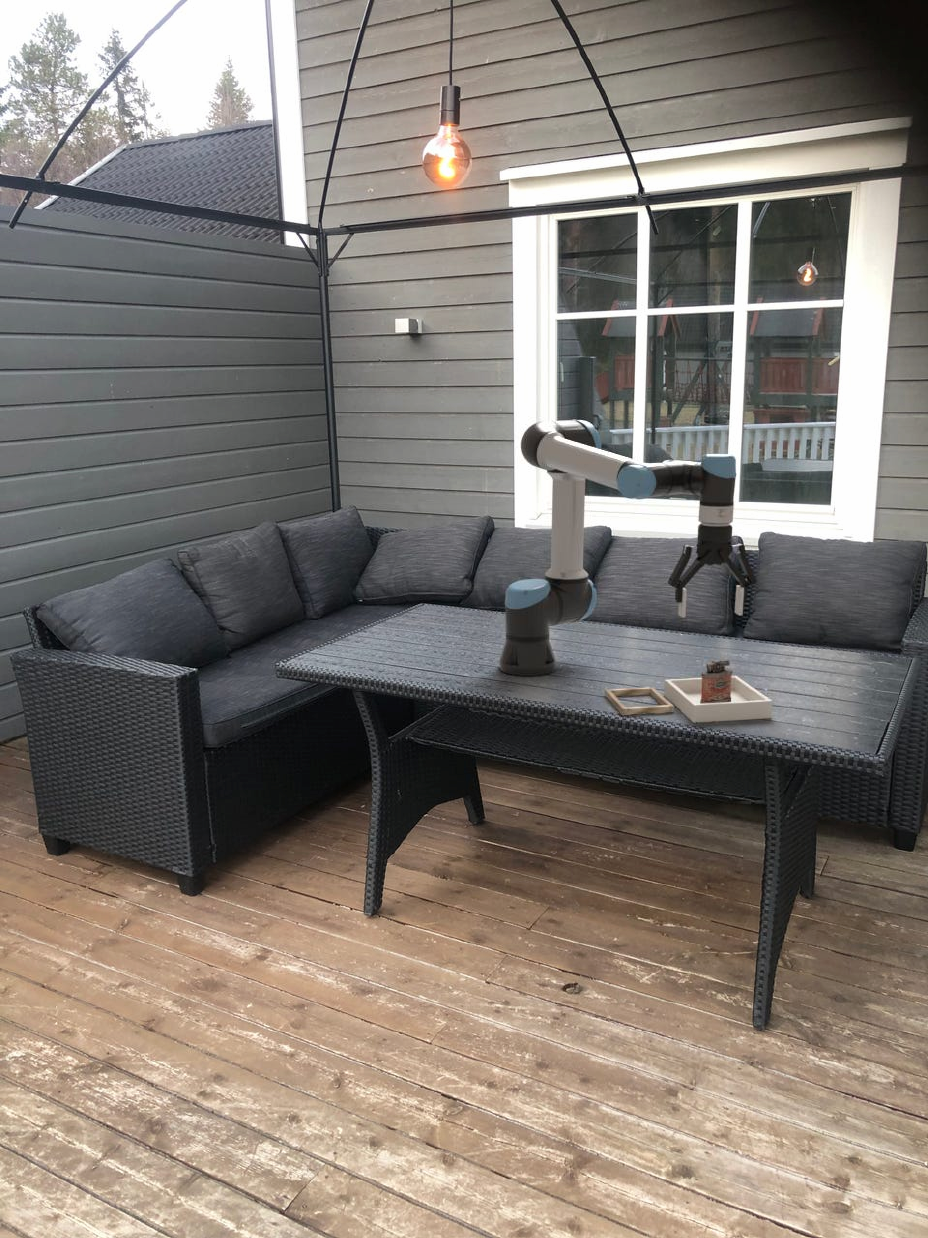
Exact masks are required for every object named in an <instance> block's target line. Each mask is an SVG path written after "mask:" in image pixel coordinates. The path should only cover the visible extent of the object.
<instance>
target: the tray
mask: <svg viewBox="0 0 928 1238" xmlns="http://www.w3.org/2000/svg"><path fill="white" fill-rule="evenodd" d="M701 691H702V677H690V678H676V679H675V678H673V679H672V678H671V679H664V691H663V694H664V695H663V697H664V698H666V699H667V700H668V701H669V702H670V703H671V704H672V705H673V706H674V707H676V708H677V709H678V708H679V709H680V710H681V712H682V713H683V714H684V715H685V716H686V717H687V718H688V719H689V720H690V721H691V722H692V723H693V724H694V723H696V722H697V723H713V721H714V722H726V721H727V722H728V721H743V720H745V721H746V720H760V719H761V720H762V719H763V720H765V719H772V712H773V711H772V709H773V700H772V699H770V698H769V697H767V696H766V695H764V694H763V693H761V692H760V691H759V690H757V689H755V687H753V686H751V685H750V684H748V683H747V682H746V681H745V680H743V679H742V678H740V677H739V676H737V675H731V696H730V697H731V702H721V703H703V704H700V700H701ZM679 709H678V710H679ZM680 710H679V711H680ZM697 723H696V724H697Z"/></svg>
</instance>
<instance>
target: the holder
mask: <svg viewBox="0 0 928 1238" xmlns="http://www.w3.org/2000/svg"><path fill="white" fill-rule="evenodd" d="M604 692H605V693H604V697H606V698H607V700H608V701H609V702H610V703H611V704H612V706H614V707H615V709H616V710H617V709H618V710H619V713H620V714H621V715H622V716H632V715H631V714H638V715H645V714H644V713H655V714H666V713H665V712H673V713H674V711H675V708H674V707H675V705H674V704H673V703H672V702H671V701H670V700H669V699H667V698H666V697H665V696H664V695H662V693H660V692H659V691H658V690H657V689H656V688H655V687H654V686H650V687H648V686H647V687H634V688H633V687H631V688H630V687H629V688H613V689H609V688H608V689H605V690H604ZM645 695H650V696H652V697H653V698H654V699H655V701H656V702H657V703H658V704H660V705H649V706H648V705H646V706H627V707H626V706H625V705H624V704H623V703H622V701H620V699H619V697H626V696H627V697H628V696H645ZM618 710H617V711H618Z"/></svg>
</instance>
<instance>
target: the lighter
mask: <svg viewBox="0 0 928 1238" xmlns="http://www.w3.org/2000/svg"><path fill="white" fill-rule="evenodd" d="M729 666H731V662H730V659H722V660H721V659H720V660H719V661H718V660H714V659H713V660H712V661H711V662H707V663H706V666H705V667H706V670H703V671H701V673H700V675H701V678H702V691H701V700H700V704H703V703H721V702H731V697H730V696H731V676H733V673H734V672H733V669H731V668H726V667H729Z"/></svg>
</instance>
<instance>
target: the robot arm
mask: <svg viewBox="0 0 928 1238" xmlns="http://www.w3.org/2000/svg"><path fill="white" fill-rule="evenodd" d="M520 451H521V454H522V457H523V459H525V461H526V462H527V463H528V464H530V465H531V466H532V467H535V468H538V469H542V470H545V471H546V473H547V474H548V475H549V476H550V477H551V479H552V488H551V489H552V492H551V493H552V495H551V496H552V497H551V499H552V500H551V545H550V546H551V548H550V550H551V551H550V557H551V558H550V567H549V569H548V570H547V571H546V572H545V573H544V579H542V578H531V579H522V580H521V579H520V580H518V581H515V582H513V583H511V584H510V585H508V586H507V588H506V590H505V599H504V607H505V610H504V611H505V613H504V614H505V642H504V645H503V648H502V651H501V655H500V657H499V661H498V662H499V663H498V664H499V666H498V669H499V668H500V669H499V670H500V671H501V672H502V671H503V672H502V673H504V672H505V673H504V674H507V673H508V674H507V675H511V674H512V675H513V676H517V677H518V676H519V677H533V676H534V677H536V676H543V675H547V674H551V673H553V672H555V671H556V669H557V666H556V665H557V660H556V656H555V653H554V651H553V647H552V643H551V642H550V633H551V632H550V631H551V629H550V627H554V626H555V627H556V626H560V625H564V624H568V623H570V624H573V623H577V622H579V621H581V620H582V621H583V620H584V619H587V618H588V617H589V616H591V614H592V613H593V612H594V610H595V607H596V604H597V598H598V596H597V589H596V588H595V587H594V585H595V584H594V583H593V581H592V580H591V579H589V573H588V572H587V571H586V570H585V569H584V566H583V565H584V534H585V533H584V532H585V531H584V529H585V506H586V505H585V503H586V502H585V500H586V499H585V494H586V480H587V481H591V482H594V483H597V484H600V485H603V486H606V487H609V488H612V489H616V490H618V491H619V493H620V494H621V495H622V496H623V497H624V498H626V499H632V500H633V499H634V500H644V499H647V498H654V497H655V498H658V497H663V496H665V497H667V496H674V495H675V496H676V495H691V496H699V502H698V503H699V507H698V522H699V525H697V544H696V546H692V545H688V544H684V545H683V547H682V554H681V555H680V558H679V559H678V562H677V563H676V565H675V567H674V569H673V571H672V573H671V575H670V577H669V578H668V580H667V584H668V585H669V586H671V587H673V588H675V591H674V592H675V593H674V596H675V598H674V599H675V602H676V603H678V608H677V609H678V611H677V615H678V616H679V617H681V618H686V613H687V612H686V611H687V592H688V590H687V589H686V588H685V586H686V585H688V583H689V582H690V581H691V580H692V579H693V578H694V577H695V575H696V574H697V573H698V572H699V571H700V569H701V568H703V567H704V566H705V565H707V566H713V565H717V566H722V565H724V566H725V567H726V568H727V569H728V571H729V572H730V573H731V575H733V577H734V578H735V579H736V581H737V582H738V583H739V585H737V584H736V585H735V586H736V588H735V603H734V613H735V614H736V615H738V616H743V611H744V601H747V599H748V592H749V591H748V590H749V588H750V587H751V585H756V584H757V579H756V575H755V574H754V571H753V569H752V567H751V565H750V562H749V559H748V558H747V555H746V546H745V545H744V544H741V543H739V542H738V543H736V544H735V545H732V540H733V525H732V523H733V522H734V521H733V520H734V508H735V507H734V506H735V501H734V498H735V491H736V490H735V488H736V478H737V468H736V467H737V466H736V465H737V463H736V462H737V461H736V460H737V459H736V457H735V456H734V455H732V454H727V453H722V454H721V453H709V454H708V453H706V454H703V455H702V457H701V461H700V462H699V461H688V460H681V459H667V460H664V461H662V462H651V463H649V462H644V461H640V460H637V459H633V458H630V457H627V456H623V455H621V454H616V453H614V452H610V451H606V450H603V449H602V440H601V437H600V434H599V432H598V430H597V429H596V428H595V426H594V425H593V424H592V423H591V422H589V421H587V420H582V419H574V418H573V419H563V420H562V419H561V420H542V421H538V422H535V423H533V424H532V425H530V426H529V427H528V428H527V429H526V430H525V431H524V433H523V434H522V437H521V440H520ZM695 553H696V554H697V557H696V558H695V559H694V560H693V562H692V564H691V565H690V566H689V567H688V568H687V569H686V567H687V565H688V564H689V561H690V560H691V557H692V556H694V555H695ZM732 553H734V554H735V555H736V557H737V560H738V562H739V565H740V567H741V569H742V571H743V574H744V575H745V577H744V575H743V574H742V573H741V571H740V570H739V569H738V568H737V566H736V565H735V564H734V562H733V561H732V559H731V558H730V556H731V554H732ZM685 570H686V571H685ZM684 571H685V572H684ZM512 675H511V676H512Z"/></svg>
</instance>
